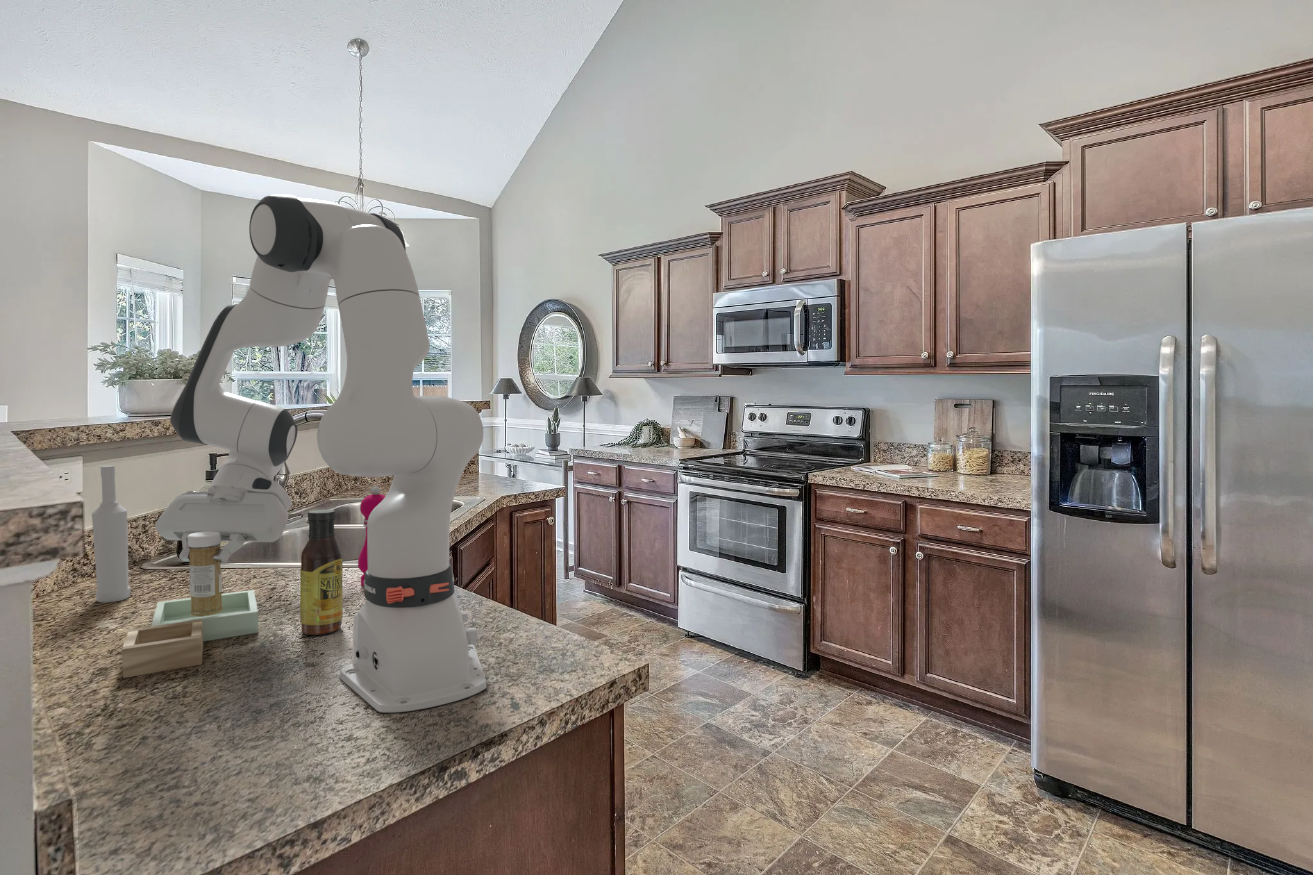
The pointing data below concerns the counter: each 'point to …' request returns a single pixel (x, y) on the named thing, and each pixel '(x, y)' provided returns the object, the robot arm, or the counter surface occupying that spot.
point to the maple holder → (162, 648)
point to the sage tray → (229, 622)
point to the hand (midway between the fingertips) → (202, 560)
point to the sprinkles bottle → (205, 573)
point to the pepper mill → (366, 510)
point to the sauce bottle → (321, 577)
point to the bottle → (110, 543)
